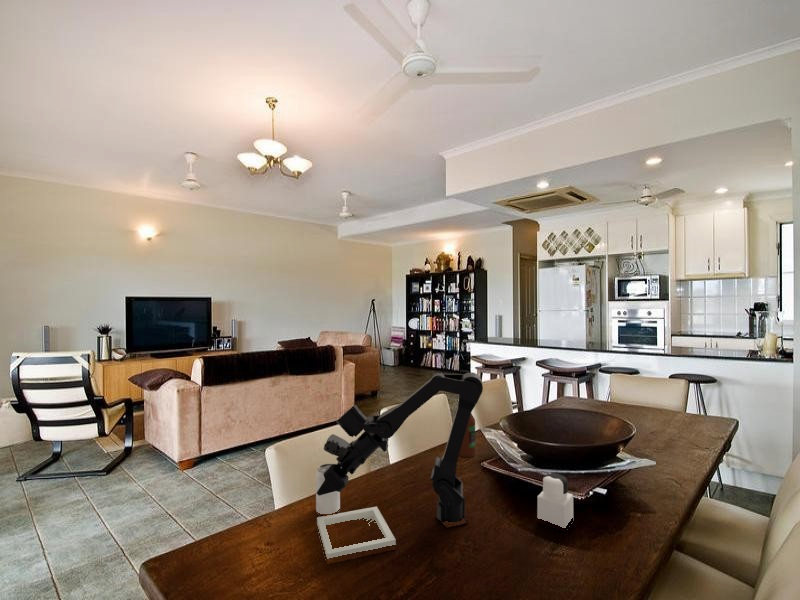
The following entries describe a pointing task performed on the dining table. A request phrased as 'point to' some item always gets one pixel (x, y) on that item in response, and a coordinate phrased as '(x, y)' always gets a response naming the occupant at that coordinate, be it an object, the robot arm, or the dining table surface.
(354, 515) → the tray
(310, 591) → the dining table surface
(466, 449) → the bottle
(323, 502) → the can
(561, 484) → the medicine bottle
